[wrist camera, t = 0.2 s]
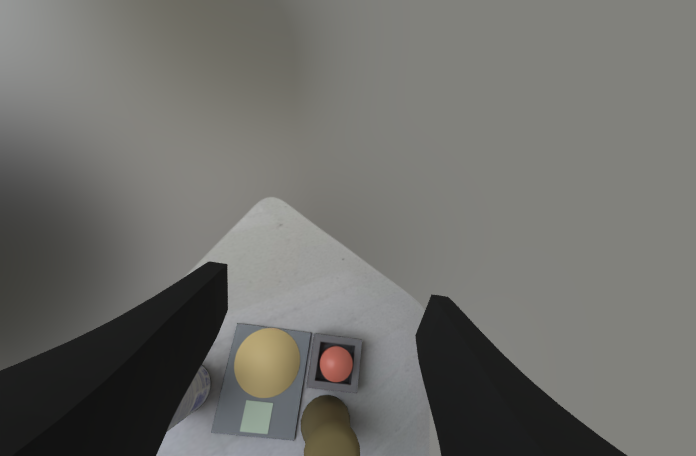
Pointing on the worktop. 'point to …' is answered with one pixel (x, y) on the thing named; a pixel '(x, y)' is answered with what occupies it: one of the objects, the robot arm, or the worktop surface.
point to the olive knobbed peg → (328, 429)
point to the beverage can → (193, 396)
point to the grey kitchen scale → (262, 383)
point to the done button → (336, 363)
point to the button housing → (315, 373)
